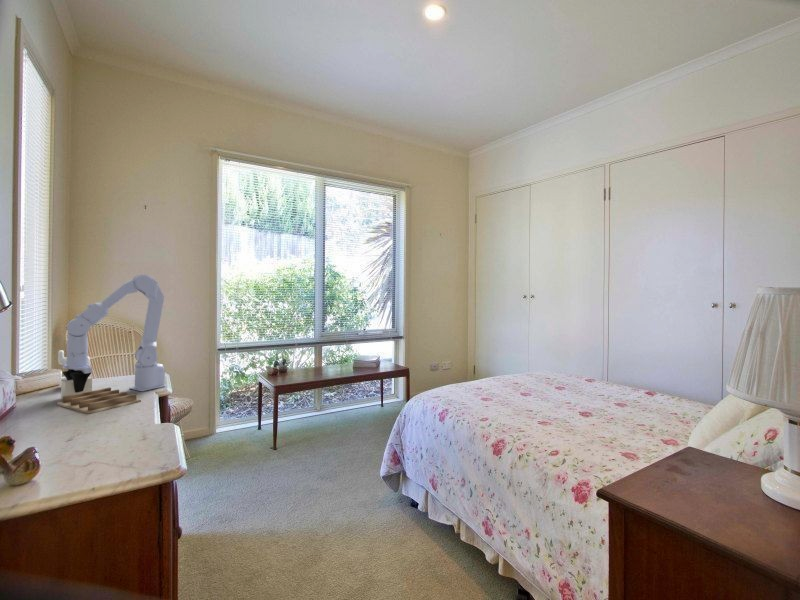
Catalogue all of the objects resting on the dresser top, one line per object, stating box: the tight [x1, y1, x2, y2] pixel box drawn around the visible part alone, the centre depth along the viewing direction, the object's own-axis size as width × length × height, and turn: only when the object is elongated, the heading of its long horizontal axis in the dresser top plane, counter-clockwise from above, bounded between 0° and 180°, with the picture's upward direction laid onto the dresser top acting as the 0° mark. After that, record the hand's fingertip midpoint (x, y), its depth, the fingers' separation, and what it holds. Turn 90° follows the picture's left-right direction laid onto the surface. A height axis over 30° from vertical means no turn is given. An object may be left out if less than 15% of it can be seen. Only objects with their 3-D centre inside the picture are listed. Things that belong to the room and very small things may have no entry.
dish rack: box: [56, 387, 142, 415], centre depth 130 cm, size 16×18×3 cm
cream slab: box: [60, 376, 93, 400], centre depth 136 cm, size 8×2×6 cm, turn 155°
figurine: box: [57, 349, 91, 381], centre depth 148 cm, size 7×9×15 cm
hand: (76, 391), depth 136 cm, fingers closed on cream slab, 2 cm apart
